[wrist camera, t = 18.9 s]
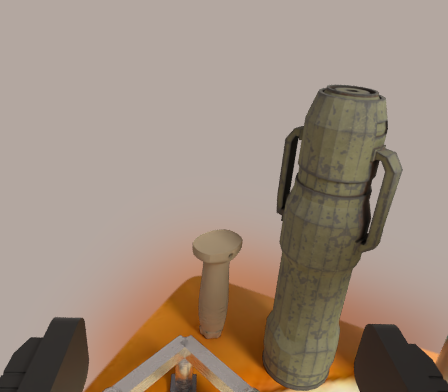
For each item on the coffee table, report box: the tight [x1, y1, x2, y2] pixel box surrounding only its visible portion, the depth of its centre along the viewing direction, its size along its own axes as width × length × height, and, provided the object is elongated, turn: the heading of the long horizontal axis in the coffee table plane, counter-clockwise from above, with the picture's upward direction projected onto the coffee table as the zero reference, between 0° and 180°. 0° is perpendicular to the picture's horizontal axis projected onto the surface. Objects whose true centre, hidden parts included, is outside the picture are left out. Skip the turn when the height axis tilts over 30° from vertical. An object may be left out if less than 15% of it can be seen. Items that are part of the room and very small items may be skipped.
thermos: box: [262, 85, 402, 391], centre depth 42 cm, size 9×12×35 cm
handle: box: [193, 230, 242, 339], centre depth 50 cm, size 5×6×15 cm
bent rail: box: [102, 335, 260, 392], centre depth 40 cm, size 16×10×8 cm, turn 93°
